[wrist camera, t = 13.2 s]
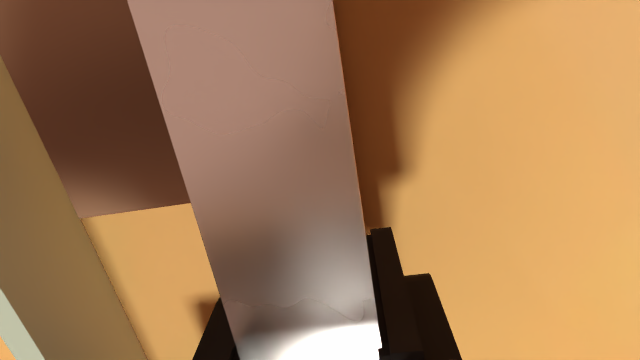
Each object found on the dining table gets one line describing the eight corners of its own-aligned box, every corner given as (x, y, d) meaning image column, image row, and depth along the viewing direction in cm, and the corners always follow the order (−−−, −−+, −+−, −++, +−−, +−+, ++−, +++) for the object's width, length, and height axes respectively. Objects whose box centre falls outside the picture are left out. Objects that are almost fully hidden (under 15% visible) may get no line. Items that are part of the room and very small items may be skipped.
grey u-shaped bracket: (-113, -180, 9) (-442, -327, 5) (344, -306, 8) (352, -614, 4) (199, 469, 18) (165, 583, 15) (421, 455, 17) (445, 574, 13)
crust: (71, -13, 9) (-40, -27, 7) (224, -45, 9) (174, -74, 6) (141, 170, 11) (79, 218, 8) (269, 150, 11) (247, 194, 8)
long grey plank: (201, -134, 8) (7, -379, 3) (310, -160, 8) (267, -464, 3) (338, 472, 15) (338, 671, 10) (398, 469, 15) (427, 672, 10)
